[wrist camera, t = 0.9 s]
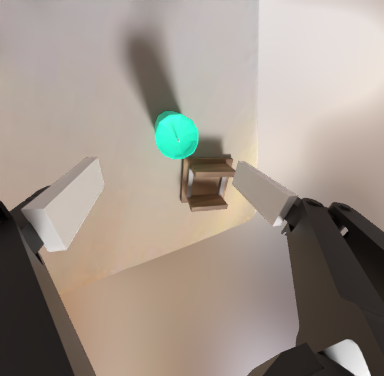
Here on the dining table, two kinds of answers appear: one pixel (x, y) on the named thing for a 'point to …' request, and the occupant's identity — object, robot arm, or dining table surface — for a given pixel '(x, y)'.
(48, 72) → the dining table surface
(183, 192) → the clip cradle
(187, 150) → the candle
